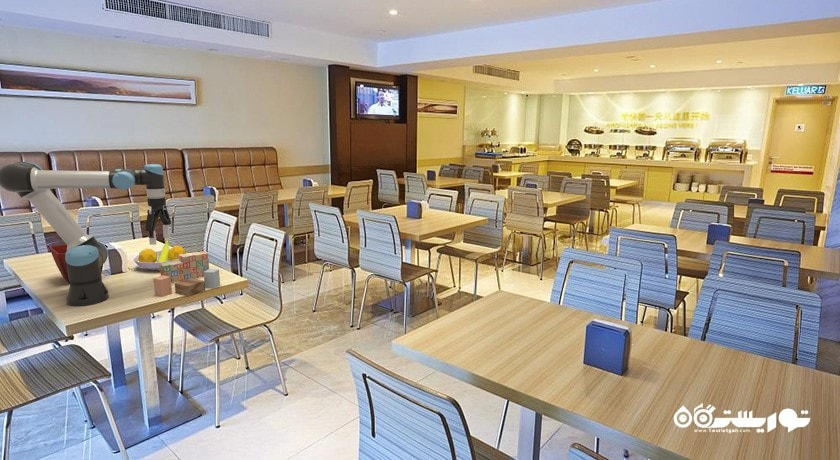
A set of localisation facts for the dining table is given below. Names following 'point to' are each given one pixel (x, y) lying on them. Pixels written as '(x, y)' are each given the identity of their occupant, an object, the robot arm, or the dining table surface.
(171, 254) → the fruit bowl
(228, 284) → the dining table surface
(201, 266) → the stack of blocks
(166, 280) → the terracotta block
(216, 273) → the greyblue block
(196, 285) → the walnut base
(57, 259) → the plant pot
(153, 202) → the robot arm
